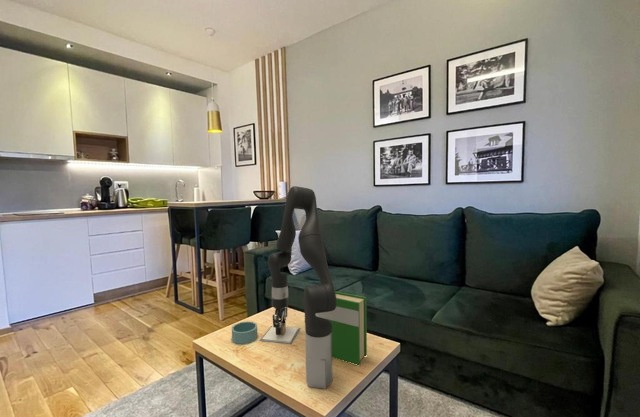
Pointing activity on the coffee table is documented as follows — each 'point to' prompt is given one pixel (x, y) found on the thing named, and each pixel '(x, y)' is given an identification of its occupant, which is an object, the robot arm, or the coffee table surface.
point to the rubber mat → (281, 342)
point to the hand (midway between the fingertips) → (280, 331)
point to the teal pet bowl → (244, 333)
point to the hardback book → (348, 327)
